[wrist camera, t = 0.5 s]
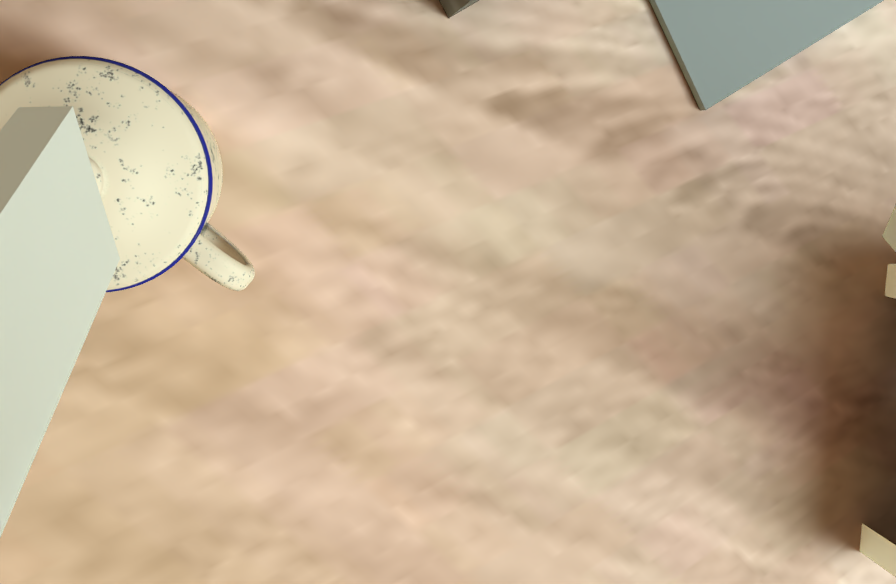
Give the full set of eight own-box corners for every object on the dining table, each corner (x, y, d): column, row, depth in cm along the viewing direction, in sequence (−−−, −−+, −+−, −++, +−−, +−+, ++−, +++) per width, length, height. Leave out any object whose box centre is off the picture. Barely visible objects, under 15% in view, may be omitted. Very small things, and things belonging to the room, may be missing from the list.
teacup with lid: (-9, 181, 38) (-134, 196, 27) (112, 34, 38) (38, -13, 27) (198, 333, 41) (163, 403, 30) (311, 197, 41) (319, 218, 30)
